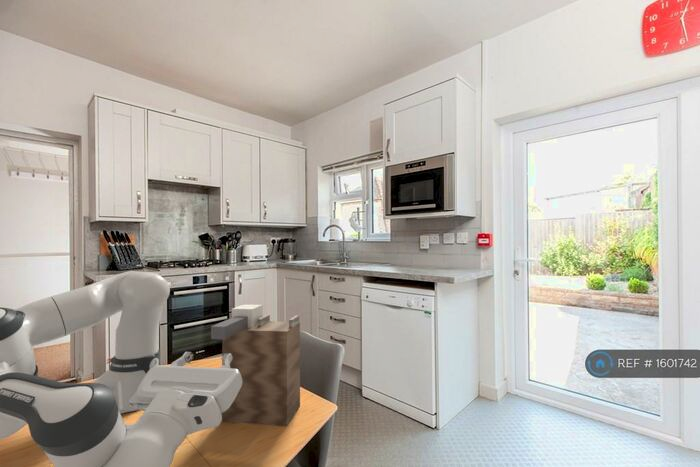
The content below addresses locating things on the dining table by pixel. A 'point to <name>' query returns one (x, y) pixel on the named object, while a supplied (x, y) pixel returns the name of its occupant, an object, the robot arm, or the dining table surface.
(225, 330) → the grey and white block
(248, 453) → the dining table surface
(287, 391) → the brown wood grain box
